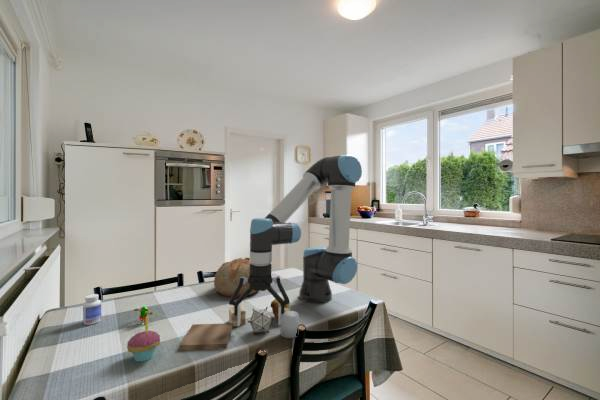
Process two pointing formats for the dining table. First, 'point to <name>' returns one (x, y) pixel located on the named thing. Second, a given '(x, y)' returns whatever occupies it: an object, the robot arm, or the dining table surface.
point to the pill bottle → (92, 309)
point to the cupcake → (143, 344)
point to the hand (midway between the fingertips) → (259, 324)
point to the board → (207, 336)
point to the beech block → (234, 318)
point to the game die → (260, 320)
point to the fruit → (276, 307)
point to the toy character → (143, 314)
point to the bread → (232, 277)
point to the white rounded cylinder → (289, 324)
